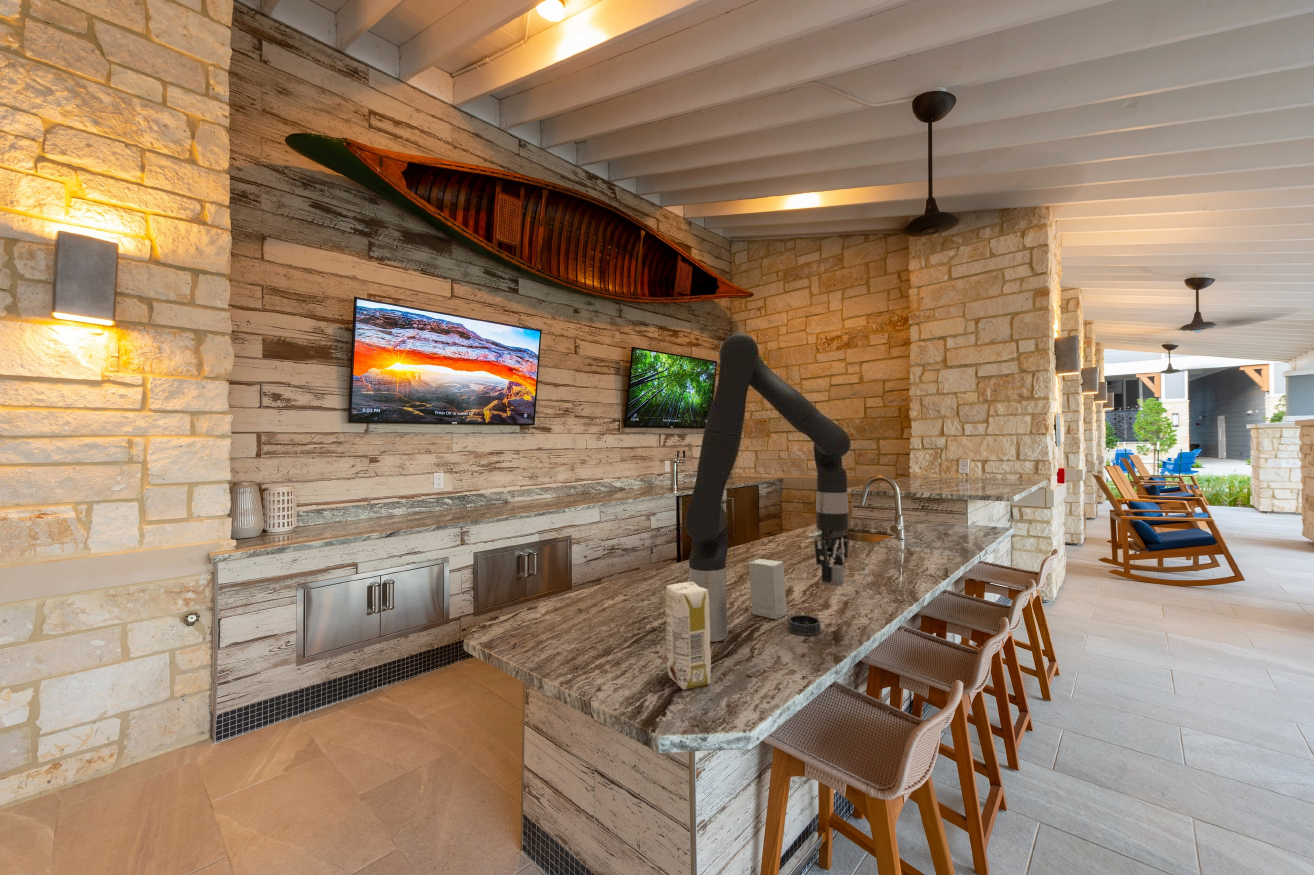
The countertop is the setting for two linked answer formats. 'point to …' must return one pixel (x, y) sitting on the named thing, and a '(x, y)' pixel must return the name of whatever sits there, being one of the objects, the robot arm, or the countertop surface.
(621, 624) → the countertop surface
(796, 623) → the black round dish
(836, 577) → the cap
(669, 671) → the juice carton
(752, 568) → the skincare box
